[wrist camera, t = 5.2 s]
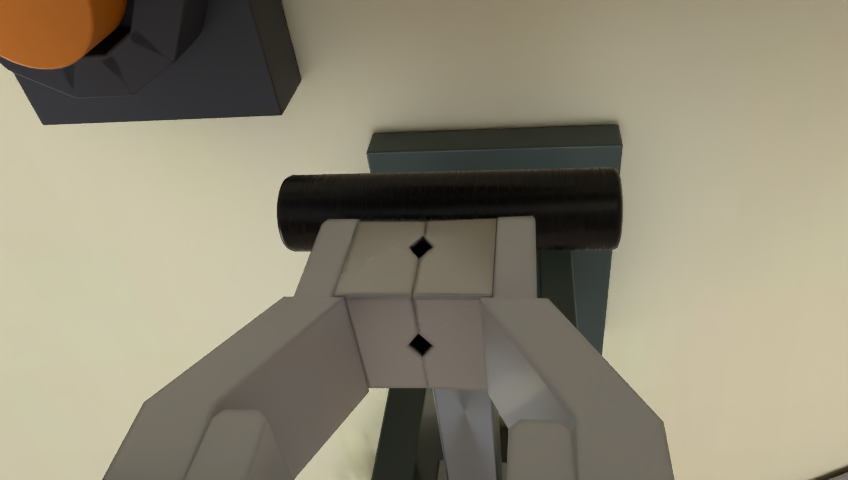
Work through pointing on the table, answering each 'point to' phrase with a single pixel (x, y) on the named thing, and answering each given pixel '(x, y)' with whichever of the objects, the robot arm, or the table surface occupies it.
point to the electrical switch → (841, 477)
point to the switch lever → (463, 199)
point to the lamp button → (55, 29)
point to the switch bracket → (555, 269)
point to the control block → (173, 66)
